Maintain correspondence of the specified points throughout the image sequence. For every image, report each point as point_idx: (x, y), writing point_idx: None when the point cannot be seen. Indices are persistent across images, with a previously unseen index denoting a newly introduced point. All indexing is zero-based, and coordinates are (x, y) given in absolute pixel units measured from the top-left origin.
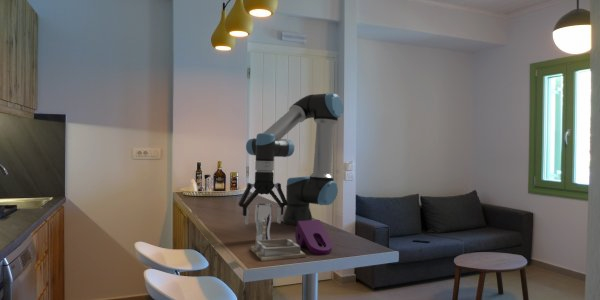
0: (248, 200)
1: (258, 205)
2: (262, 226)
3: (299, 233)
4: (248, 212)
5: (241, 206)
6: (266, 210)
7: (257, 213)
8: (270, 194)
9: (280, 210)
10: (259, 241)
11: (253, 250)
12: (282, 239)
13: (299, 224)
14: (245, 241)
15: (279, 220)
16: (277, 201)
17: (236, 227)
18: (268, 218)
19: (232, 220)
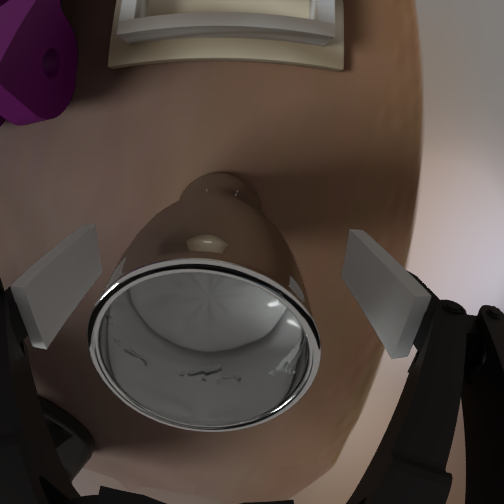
0: (459, 369)
1: (310, 313)
2: (238, 196)
3: (42, 51)
4: (394, 273)
5: (482, 306)
6: (195, 225)
7: (296, 263)
8: (72, 487)
9: (31, 270)
10: (319, 8)
11: (341, 17)
12: (161, 15)
13: (9, 45)
14: (314, 229)
15: (82, 231)
16: (3, 338)
17: (262, 436)
18: (180, 201)
19: (246, 482)
